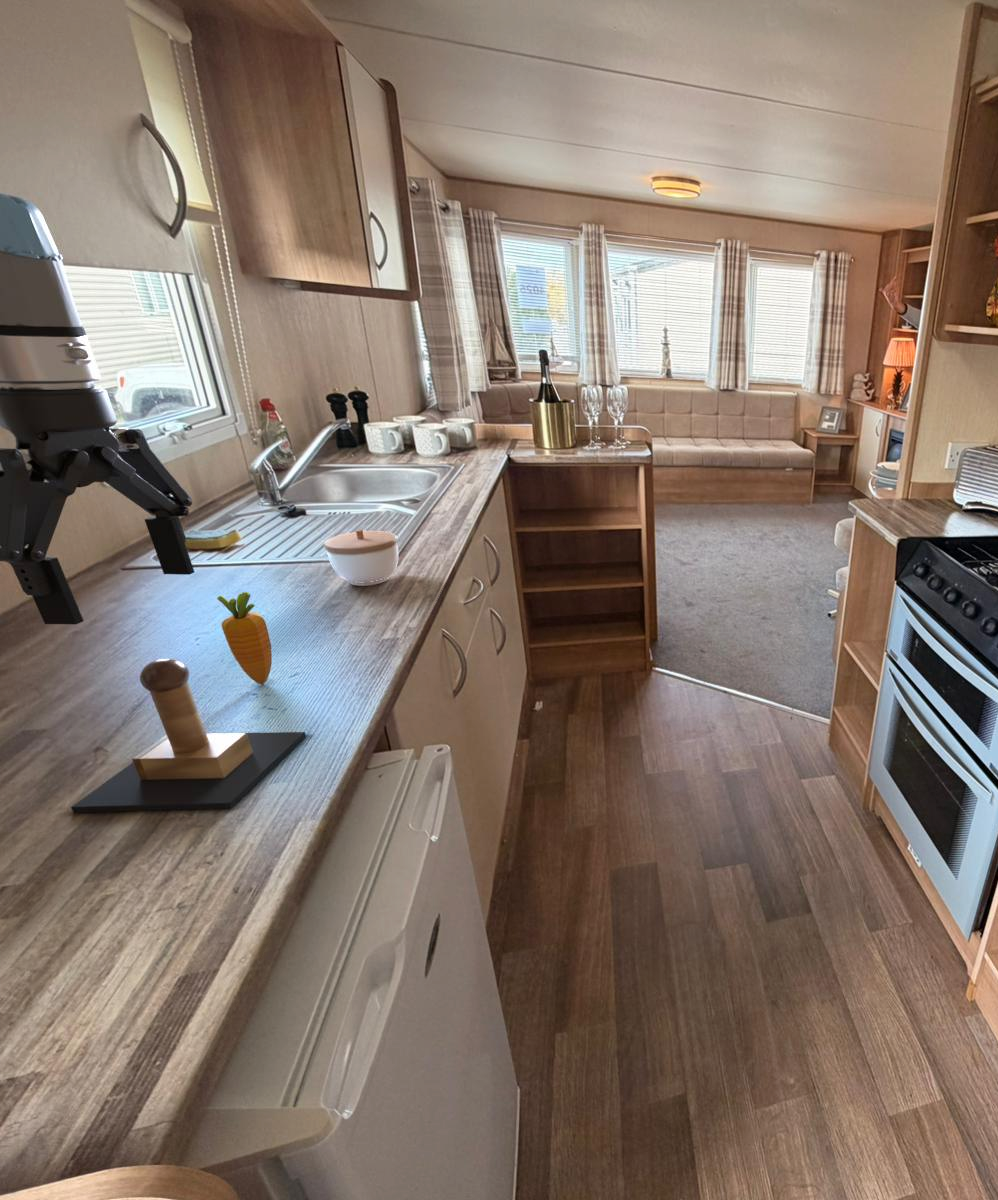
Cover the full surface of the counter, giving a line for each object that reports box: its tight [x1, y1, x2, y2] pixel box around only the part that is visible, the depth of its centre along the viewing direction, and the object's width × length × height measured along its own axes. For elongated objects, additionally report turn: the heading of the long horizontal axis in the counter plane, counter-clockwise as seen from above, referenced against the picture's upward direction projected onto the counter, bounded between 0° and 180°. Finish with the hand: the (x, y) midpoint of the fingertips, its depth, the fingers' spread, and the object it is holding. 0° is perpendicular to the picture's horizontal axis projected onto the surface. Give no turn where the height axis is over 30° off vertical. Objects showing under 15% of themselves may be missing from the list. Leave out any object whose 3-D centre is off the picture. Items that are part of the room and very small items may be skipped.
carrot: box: [216, 591, 273, 686], centre depth 93 cm, size 5×5×15 cm
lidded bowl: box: [323, 529, 399, 587], centre depth 134 cm, size 13×13×11 cm
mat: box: [70, 731, 307, 814], centre depth 77 cm, size 16×14×1 cm
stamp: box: [131, 658, 253, 780], centre depth 75 cm, size 9×5×14 cm, turn 96°
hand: (127, 596), depth 67 cm, fingers open, 13 cm apart
